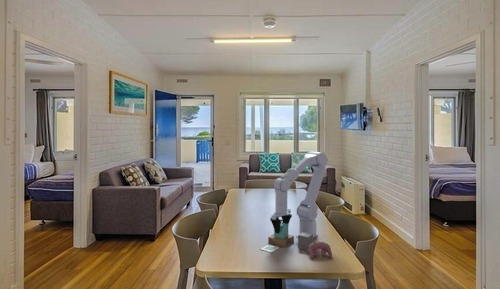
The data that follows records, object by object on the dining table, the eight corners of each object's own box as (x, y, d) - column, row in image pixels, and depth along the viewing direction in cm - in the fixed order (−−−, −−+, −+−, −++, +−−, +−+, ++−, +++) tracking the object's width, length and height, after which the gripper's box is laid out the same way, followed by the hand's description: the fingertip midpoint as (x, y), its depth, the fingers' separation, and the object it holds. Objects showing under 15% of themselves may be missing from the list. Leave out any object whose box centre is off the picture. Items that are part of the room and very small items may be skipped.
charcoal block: (303, 244, 149) (303, 231, 148) (312, 246, 146) (312, 234, 145) (298, 247, 145) (298, 234, 144) (307, 250, 142) (307, 237, 141)
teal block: (279, 233, 154) (279, 222, 154) (288, 236, 151) (288, 223, 151) (274, 236, 150) (274, 224, 150) (282, 238, 147) (283, 226, 147)
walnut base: (278, 237, 157) (278, 232, 157) (293, 241, 152) (293, 235, 151) (268, 243, 150) (268, 236, 150) (284, 247, 144) (284, 241, 144)
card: (268, 245, 147) (268, 244, 147) (279, 247, 144) (279, 247, 144) (260, 249, 142) (260, 248, 142) (271, 252, 138) (271, 251, 138)
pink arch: (330, 258, 136) (328, 242, 139) (333, 258, 132) (331, 240, 134) (308, 259, 135) (306, 242, 138) (310, 258, 131) (309, 241, 134)
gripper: (280, 207, 141) (280, 236, 142) (296, 201, 153) (295, 228, 154) (267, 205, 146) (267, 233, 146) (283, 199, 157) (283, 225, 158)
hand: (281, 230), depth 150 cm, fingers open, 7 cm apart
